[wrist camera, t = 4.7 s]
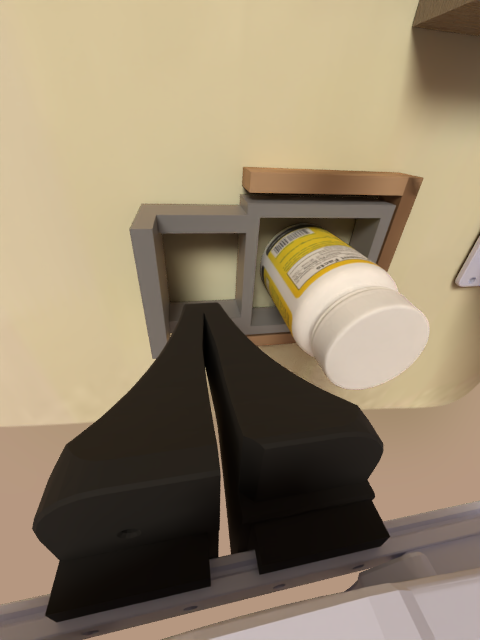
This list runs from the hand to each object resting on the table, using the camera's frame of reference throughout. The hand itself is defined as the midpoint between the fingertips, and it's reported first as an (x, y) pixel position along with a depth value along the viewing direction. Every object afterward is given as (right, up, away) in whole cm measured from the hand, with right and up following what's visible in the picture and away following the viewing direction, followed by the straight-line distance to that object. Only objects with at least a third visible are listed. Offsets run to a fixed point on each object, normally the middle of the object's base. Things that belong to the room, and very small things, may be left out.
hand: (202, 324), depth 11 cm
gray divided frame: (+3, +3, +5) cm, 7 cm away
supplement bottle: (+5, +4, +6) cm, 9 cm away
